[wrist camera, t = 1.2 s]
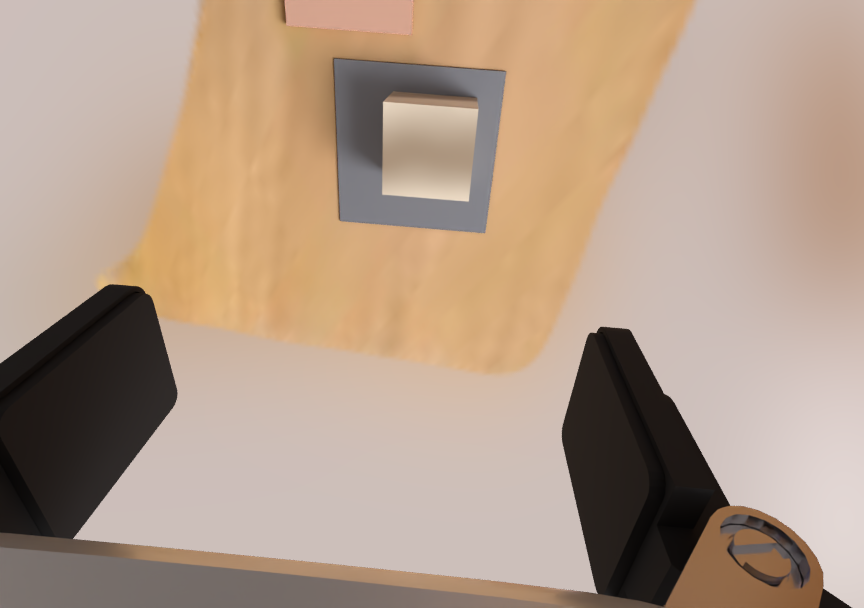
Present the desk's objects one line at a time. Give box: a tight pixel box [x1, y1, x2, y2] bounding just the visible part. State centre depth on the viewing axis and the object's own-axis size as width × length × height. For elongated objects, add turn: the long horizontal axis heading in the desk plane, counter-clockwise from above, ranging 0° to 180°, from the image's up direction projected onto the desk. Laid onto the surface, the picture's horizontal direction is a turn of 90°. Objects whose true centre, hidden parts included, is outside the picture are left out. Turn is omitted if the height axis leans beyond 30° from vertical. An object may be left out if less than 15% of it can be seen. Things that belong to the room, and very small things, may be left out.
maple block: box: [382, 91, 479, 202], centre depth 28 cm, size 5×5×4 cm
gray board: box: [334, 59, 506, 233], centre depth 30 cm, size 10×10×1 cm
